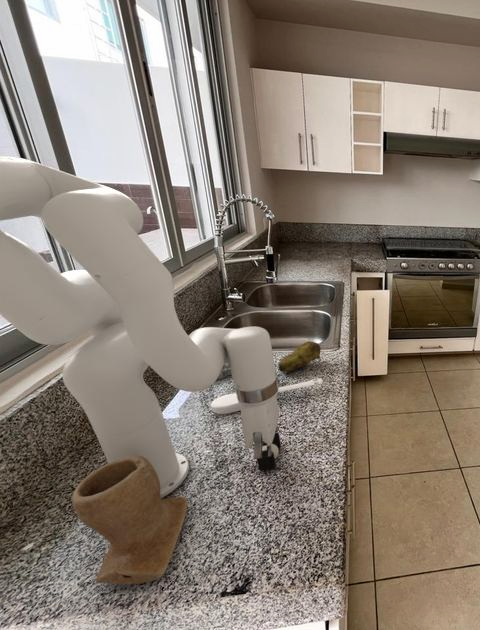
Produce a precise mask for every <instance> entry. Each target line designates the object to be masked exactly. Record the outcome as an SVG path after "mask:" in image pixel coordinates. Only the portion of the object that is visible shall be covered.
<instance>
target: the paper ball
mask: <svg viewBox="0 0 480 630" xmlns="http://www.w3.org/2000/svg"><path fill="white" fill-rule="evenodd" d="M264 450H267V446H262V451H264ZM271 451H272V452H274V458H275V459H277V458H278V455H279V451H280V450H279V449H278V447H277V446H276V445H274V444H271Z"/></svg>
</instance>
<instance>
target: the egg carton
mask: <svg viewBox="0 0 480 630" xmlns="http://www.w3.org/2000/svg"><path fill="white" fill-rule="evenodd" d="M229 375H230V376H232V373H231V368H230V365H229V364H225V365H223V368H222V370H221V372H220V374H219V376H218V378H217V379H220V380H221V379H224V378H225V377H226V376H229Z"/></svg>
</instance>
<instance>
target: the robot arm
mask: <svg viewBox="0 0 480 630" xmlns="http://www.w3.org/2000/svg"><path fill="white" fill-rule="evenodd" d="M28 217H36V218H40V219H41V222H42V224H43V226H44V228H45V229H46V231H47V232H48V233H49V234H50V235H51V237H52V238H53V239H54V240H55V241H56V242H57V243H58V244H59V245H60V246H61V247H62V248H63V249H64V250H65V251H66V252H67V253H68V254H69V255H70V257H72V258H73V259H74V260H75V262H76V263H78V264H79V266H81V268H82V269H72V270H67V271H64V272H58V271H57V270H56V269H55V268H54V267H53V266H52V265H50V264H49V262H47V261H46V260H45V258H44V257H43V256H42V255H41V254H40V253H39V252H38V251H37V250H35V249H34V248H33V247H32V246H30V245H29V244H27V243H26V242H24V241H22V240H21V239H19V238H18V237H15V236H13V234H12V235H11V234H10V233H8V232H6V231H4V230H3V229H1V228H0V316H1V317H2V318H3V319H5V320H6V321H7V322H8V323H9V324H10V325H12V326H13V327H14V328H15V329H17V330H18V332H20V333H21V334H22V335H24V336H25V337H26V338H28V339H29V340H31V341H34V342H36V343H38V344H39V345H40V344H41V345H45V346H60V345H63V344H67V343H70V342H72V341H74V340H76V339H78V338H79V337H81V336H82V335H84V334H85V333H87V332H88V333H89V334H90V335H91V336H92V337H91V338H90V339H88V340H86V341H85V343H83V344H81V346H79V347H78V348H77V349H76V350H74V351H73V352H72V354H71V355H70V356H69V357H68V359H67V360H66V361H65V363H64V366H63V368H62V382H63V384H64V386H65V388H66V389H67V391H68V392H69V393H70V394H71V395H72V397H73V398H74V399H75V400H76V401H77V402H78V404H79V405H80V407H81V408H82V409H83V411H84V413H85V415H86V417H87V420H88V422H89V423H90V426H91V428H92V430H93V432H94V434H95V436H96V438H97V440H98V444H99V445H100V447H101V450H102V452H103V455H104V456H105V459H106V461H107V464H108V463H110V462H112V461H115V460H118V459H120V458H124V457H128V456H141V457H144V458H146V459H147V460H148V461H149V462H150V464H151V465H152V466H153V468H154V470H155V471H156V473H157V476H158V479H159V481H160V495H161V499H164V498H165V497H166V496H168V495H169V494H171V493H172V492H173V491H175V490H176V489H177V488H178V487H179V486H180V485H182V483H183V482H184V480H185V479H186V478H187V476H188V475H189V471H190V463H189V461H188V458H187V457H186V456H185V455H183V454H182V453H177V452H175V447H174V445H173V441H172V439H171V436H170V433H169V430H168V427H167V423H166V420H165V418H164V415H163V414H164V413H163V411H162V408H161V406H160V402H159V399H158V397H157V396H156V393H155V391H154V390H153V389H152V388H151V386H149V385H148V384H147V383H146V382H145V379H144V374H145V372H146V370H147V369H148V368H149V367H150V368H151V369H152V370H153V371H154V372H155V373H156V374H157V375H158V376H159V377H160V378H162V379H163V381H165V382H166V383H168V384H169V385H170V386H172V387H173V388H175V389H177V390H180V391H183V392H188V393H197V392H202V391H204V390H206V389H208V388H209V387H211V386H212V385H213V384H214V383H215V382H216V381H217V380H218V379H219V378H218V376H219V374H220V372H221V370H222V368H223V365H225V364H229V365H230V368H231V373H232V375H231V378H232V381H233V386H234V390H235V393H236V395H237V400H238V402H239V403H240V404H241V410H240V421H241V427H242V434H243V440H244V441H243V442H244V446H245V448H246V449H249V450H250V449H252V448H253V459H254V460H257V465H258V470H259V471H268V470H275V469H276V466H277V464H276V463H277V462H276V458H274V452H272V451H271V444H274V445H276V446H277V447H278V450H279V449H281V446H282V445H281V439H280V433H279V427H278V426H279V425H278V424H279V419H280V409H279V403H278V398H277V396H278V394H279V393H280V392H279V389H278V388H279V384H278V378H277V371H276V367H275V360H274V354H273V348H272V347H273V346H272V341H271V335H270V333H269V332H268V330H267V329H266V328H263V327H261V326H244V327H239V328H228V327H227V328H226V327H217V326H206V327H200V328H197V329H194V330H193V331H192V332H190V333H189V334H187V332H186V330H185V329H184V327H183V326H182V324H181V321H180V319H179V318H178V315H177V311H176V308H175V285H174V279H173V276H172V274H171V272H170V271H169V270H168V269H167V267H166V266H165V265H164V264H163V262H162V261H161V260H160V259H159V258H158V256H156V254H155V253H154V252H153V251H152V250H151V249H150V247H149V246H148V245H147V244H146V243H145V241H144V240H143V239H142V237H140V235H139V233H140V232H141V231H142V229H143V227H144V216H143V213H142V211H141V209H140V207H139V206H138V205H137V203H136V202H135V201H134V200H132V198H131V197H129V196H128V195H126V194H125V193H123V192H121V191H119V190H116V189H114V188H112V187H109V186H106V185H103V184H100V183H97V182H94V181H91V180H89V179H85V178H83V177H79V176H78V175H74V174H71V173H67V172H66V171H62V170H60V169H57V168H55V167H51V166H48V165H46V164H42V163H39V162H37V161H33V160H30V159H27V158H21V157H15V156H6V155H5V156H4V155H0V222H1V221H8V220H9V221H10V220H14V219H21V218H28ZM264 446H267V450H264V451H262V448H263V447H264Z"/></svg>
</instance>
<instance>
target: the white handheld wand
mask: <svg viewBox="0 0 480 630" xmlns="http://www.w3.org/2000/svg"><path fill="white" fill-rule="evenodd" d="M323 383H324V381H323V379H322V378H314V379H313V378H312V379H311V380H307V381H302V382H299V383H294V384H289V385H284V386H278V389H279V392H278V393H281V392H286V391H291V390H295V389H300V388H301V389H302V388H305V387H306V388H307V387H311V386H312V387H313V386H314V387H315V386H320V385H322V384H323ZM210 406H211V410H212V412H214V413H216V415H226V414H227V415H228V414H232V413H236V412H239V411H240V412H241V404H240V403H239V402H238V400H237V395H236V392H235V393H234V392H233V393H228V394H224V395H222V396H219V397H217V398H215V399H213V400H212V401H211V403H210Z"/></svg>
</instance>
